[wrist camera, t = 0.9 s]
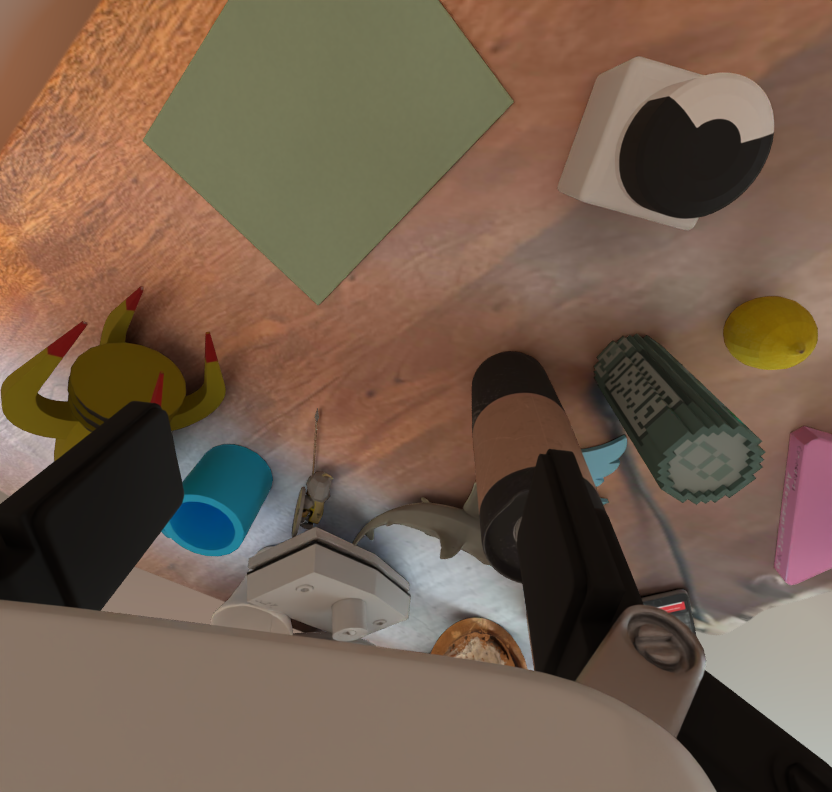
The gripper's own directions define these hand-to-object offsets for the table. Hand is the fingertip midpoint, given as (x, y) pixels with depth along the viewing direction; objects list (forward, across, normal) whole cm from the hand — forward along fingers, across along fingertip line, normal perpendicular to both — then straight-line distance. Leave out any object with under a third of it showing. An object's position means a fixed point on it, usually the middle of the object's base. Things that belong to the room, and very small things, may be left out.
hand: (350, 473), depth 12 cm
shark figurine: (+30, -5, +30) cm, 43 cm away
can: (+31, -20, +9) cm, 38 cm away
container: (+31, -14, -8) cm, 35 cm away
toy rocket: (+22, +20, +6) cm, 30 cm away
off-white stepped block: (+24, +10, +41) cm, 48 cm away
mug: (+30, +20, +28) cm, 46 cm away
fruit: (+31, -28, +3) cm, 42 cm away
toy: (+28, +11, +32) cm, 44 cm away
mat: (+30, +9, -8) cm, 33 cm away
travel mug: (+31, -9, +12) cm, 34 cm away
